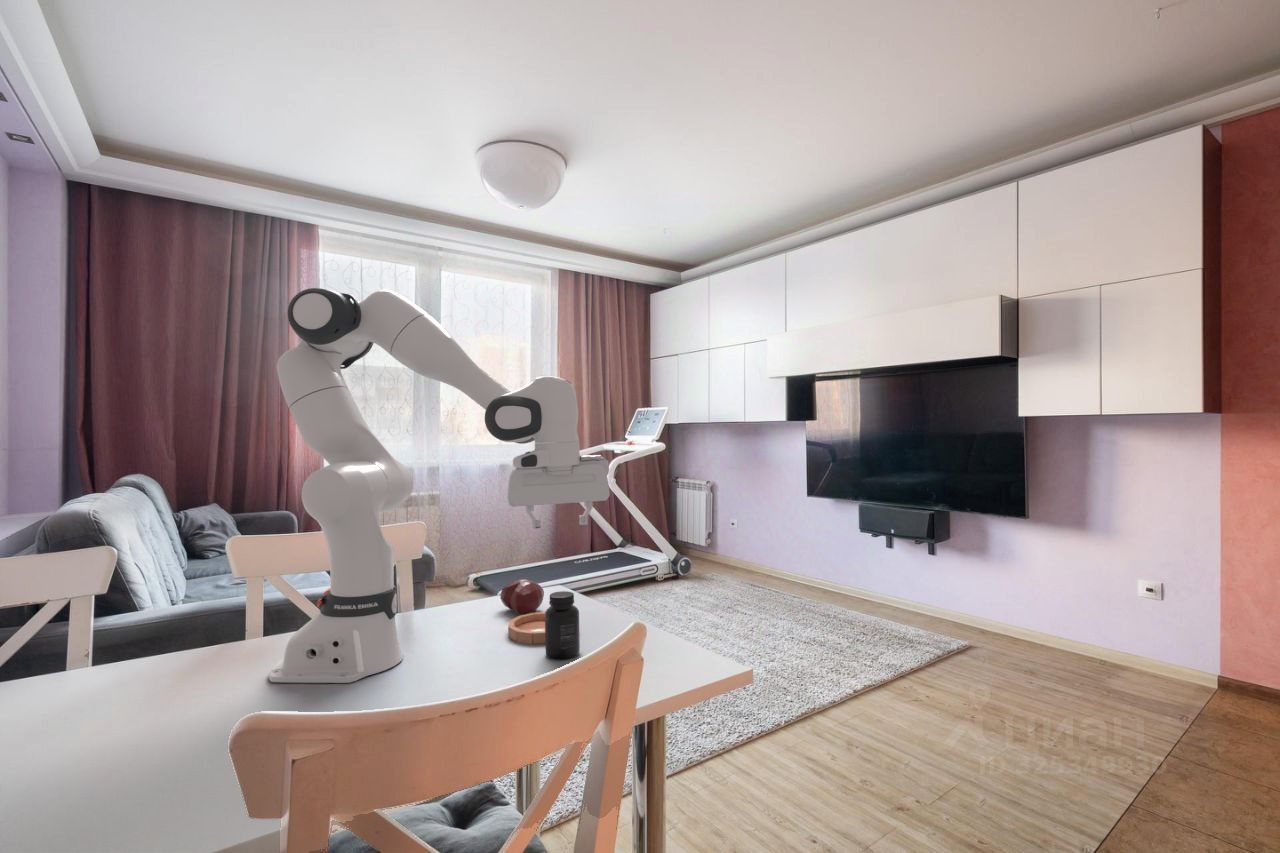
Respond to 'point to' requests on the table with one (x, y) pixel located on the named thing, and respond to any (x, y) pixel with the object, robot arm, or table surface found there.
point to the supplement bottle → (562, 627)
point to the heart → (522, 596)
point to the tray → (528, 628)
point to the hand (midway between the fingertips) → (560, 526)
